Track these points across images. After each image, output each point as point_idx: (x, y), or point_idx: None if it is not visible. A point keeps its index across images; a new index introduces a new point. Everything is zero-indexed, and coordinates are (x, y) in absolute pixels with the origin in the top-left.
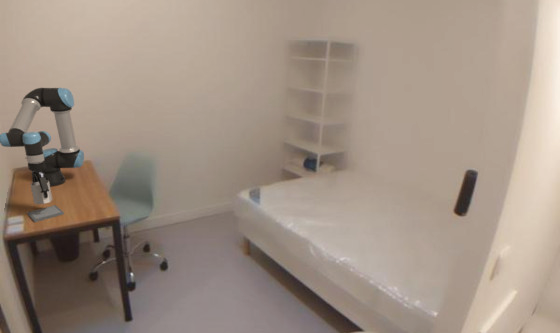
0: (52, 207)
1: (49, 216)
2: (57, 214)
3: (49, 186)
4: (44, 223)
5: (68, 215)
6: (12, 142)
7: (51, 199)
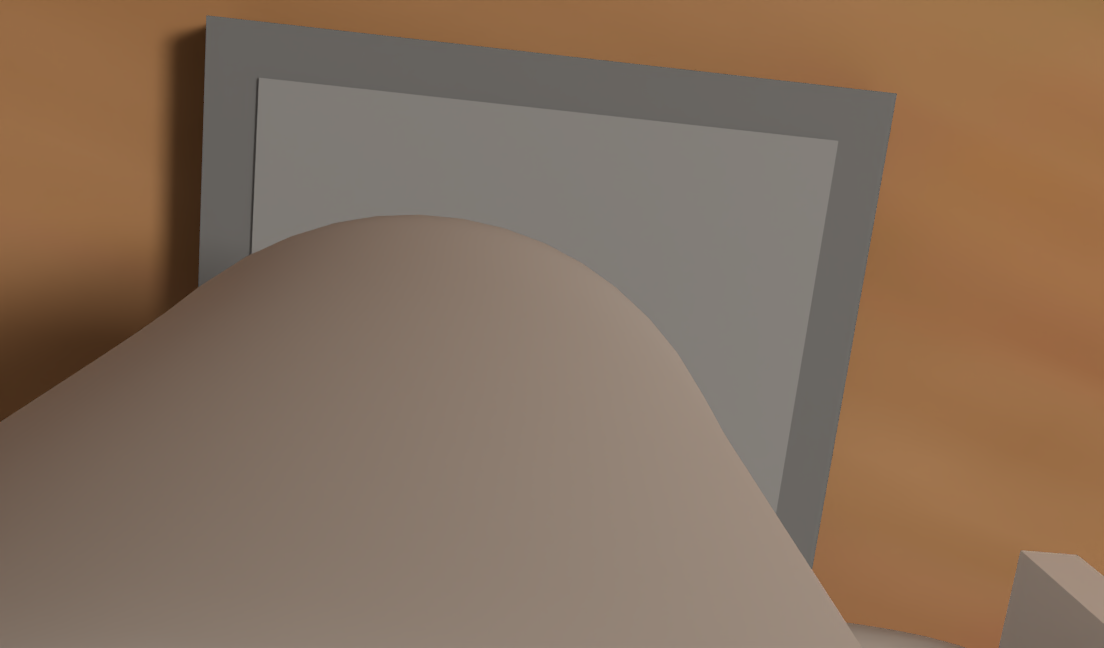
0: (338, 159)
1: (832, 432)
2: (863, 250)
3: (766, 571)
4: (992, 594)
5: (1038, 49)
6: None
7: (646, 316)
